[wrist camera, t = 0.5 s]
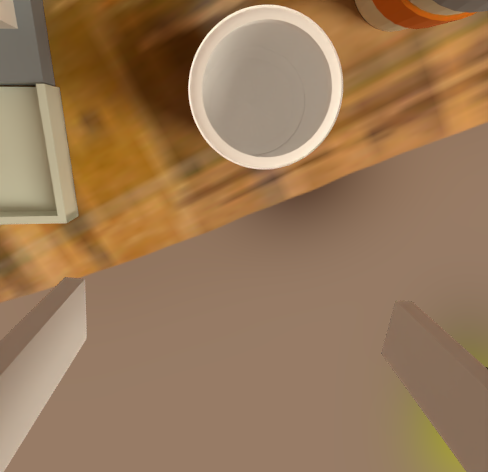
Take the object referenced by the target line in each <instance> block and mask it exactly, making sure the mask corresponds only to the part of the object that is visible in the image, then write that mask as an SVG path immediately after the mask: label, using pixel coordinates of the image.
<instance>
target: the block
mask: <svg viewBox="0 0 488 472" xmlns="http://www.w3.org/2000/svg"><path fill="white" fill-rule="evenodd" d="M0 29H18V26H17V21H16V15H15V9H14V3H13V0H0Z"/></svg>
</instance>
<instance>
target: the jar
mask: <svg viewBox="0 0 488 472" xmlns="http://www.w3.org/2000/svg"><path fill="white" fill-rule="evenodd" d="M188 93H189V103H190V108H191V112H192V115H193V118H194V121H195V123H196V125H197V127H198V129H199V131H200V133H201V134H202V136H203V137H204V139H205V140H206V141H207V143H208V144H209V145H210V146H211V147H212V148H213V149H214V150H215V151H216V152H218V153H219V154H220V155H221V156H223V157H224V158H226V159H228V160H229V161H231V162H233V163H236V164H238V165H241V166H244V167H248V168H253V169H275V168H281V167H284V166H288V165H290V164H293V163H295V162H297V161H299V160H301V159H303V158H304V157H306V156H307V155H309V154H310V153H311V152H313V151H314V150H315V149H316V148H317V147H318V146H319V145H320V144H321V143H322V142H323V141H324V139H325V138H326V137H327V135H328V134H329V132H330V131H331V129H332V127H333V125H334V123H335V121H336V119H337V116H338V113H339V110H340V107H341V102H342V96H343V75H342V69H341V64H340V61H339V57H338V55H337V52H336V50H335V48H334V46H333V44H332V42H331V41H330V39H329V38H328V36H327V35H326V33H325V32H324V31H323V30H322V29H321V28H320V27H319V26H318V25H317V24H316V23H315V22H314V21H313V20H311V19H310V18H308V17H307V16H305V15H304V14H302V13H300V12H298V11H296V10H293V9H290V8H287V7H283V6H278V5H257V6H252V7H248V8H244V9H242V10H239V11H237V12H235V13H233V14H231V15H229V16H227V17H226V18H224V19H223V20H222V21H220V22H219V23H218V24H217V25H216V26H215V27H214V28H213V29H212V30H211V31H210V32H209V33H208V34H207V36H206V37H205V38H204V40H203V41H202V43H201V44H200V46H199V48H198V50H197V52H196V54H195V57H194V59H193V62H192V66H191V70H190V75H189V85H188Z"/></svg>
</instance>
